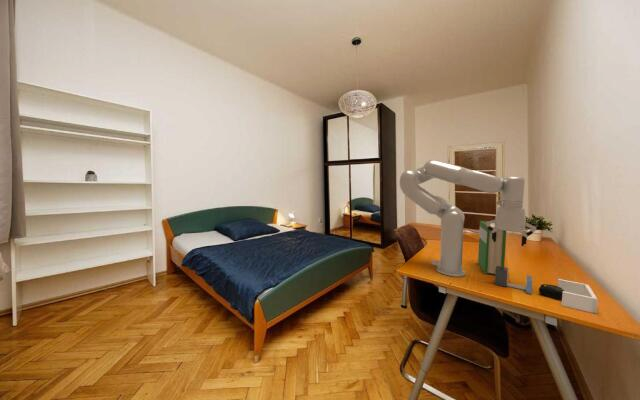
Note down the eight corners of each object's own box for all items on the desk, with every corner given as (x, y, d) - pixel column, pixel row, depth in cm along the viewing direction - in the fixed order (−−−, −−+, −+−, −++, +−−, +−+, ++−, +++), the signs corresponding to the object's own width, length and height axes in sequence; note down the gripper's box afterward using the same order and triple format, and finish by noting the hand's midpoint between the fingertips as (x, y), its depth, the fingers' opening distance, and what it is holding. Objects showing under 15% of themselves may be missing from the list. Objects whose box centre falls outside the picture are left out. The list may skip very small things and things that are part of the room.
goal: (561, 305, 83) (562, 292, 83) (557, 290, 95) (558, 278, 95) (596, 313, 78) (597, 299, 77) (587, 297, 90) (588, 284, 89)
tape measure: (537, 295, 91) (538, 286, 91) (542, 290, 95) (543, 281, 95) (562, 302, 86) (562, 292, 86) (566, 297, 90) (567, 288, 89)
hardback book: (503, 276, 109) (506, 227, 108) (484, 274, 113) (487, 225, 111) (494, 265, 125) (496, 221, 124) (477, 263, 128) (480, 220, 127)
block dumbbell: (494, 285, 99) (495, 269, 99) (496, 279, 105) (496, 264, 105) (531, 294, 91) (532, 276, 91) (531, 287, 97) (532, 271, 97)
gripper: (485, 203, 104) (483, 241, 105) (538, 207, 92) (534, 249, 93) (488, 203, 109) (485, 238, 110) (538, 206, 97) (535, 245, 98)
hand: (508, 243), depth 102 cm, fingers open, 9 cm apart
